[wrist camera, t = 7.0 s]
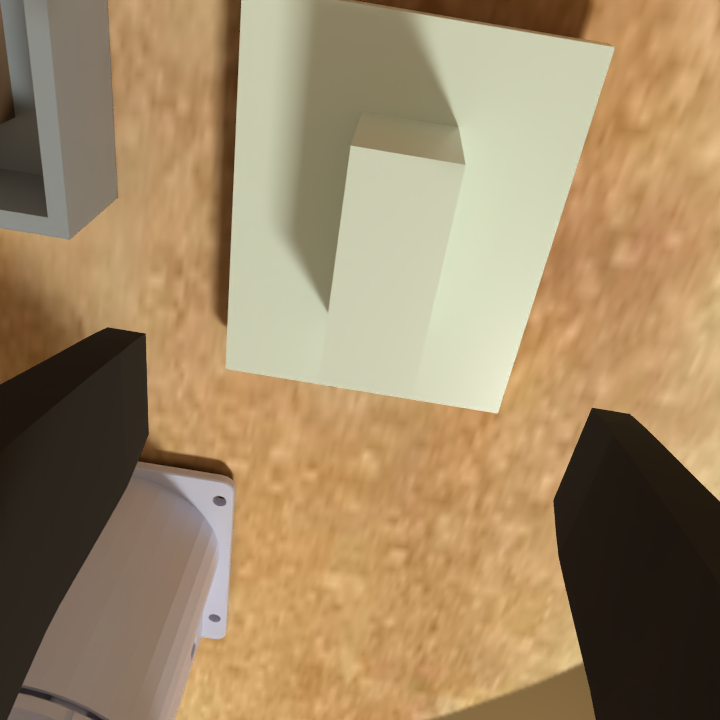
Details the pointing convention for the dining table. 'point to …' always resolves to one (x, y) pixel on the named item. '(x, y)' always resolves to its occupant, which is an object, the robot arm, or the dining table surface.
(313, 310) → the lid
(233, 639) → the dining table surface
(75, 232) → the box
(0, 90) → the walnut block
